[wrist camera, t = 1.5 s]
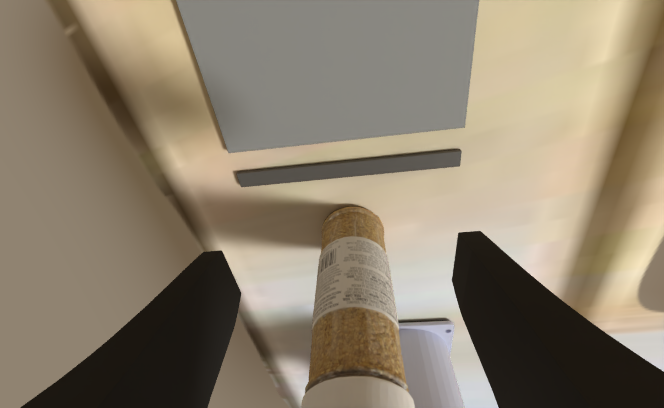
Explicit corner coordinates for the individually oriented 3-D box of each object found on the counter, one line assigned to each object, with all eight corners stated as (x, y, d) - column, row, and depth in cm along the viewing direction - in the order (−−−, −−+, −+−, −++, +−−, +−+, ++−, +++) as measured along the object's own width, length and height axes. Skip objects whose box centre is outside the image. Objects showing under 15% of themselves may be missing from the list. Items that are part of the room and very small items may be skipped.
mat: (462, 125, 18) (464, 127, 17) (230, 150, 19) (228, 153, 19) (488, -119, 12) (492, -122, 12) (160, -57, 14) (156, -58, 13)
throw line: (458, 163, 19) (459, 166, 19) (242, 184, 20) (241, 187, 20) (459, 149, 18) (461, 151, 18) (237, 171, 20) (236, 173, 20)
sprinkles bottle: (351, 261, 24) (355, 489, 13) (308, 228, 22) (270, 457, 11) (397, 229, 22) (450, 465, 11) (354, 191, 20) (363, 422, 9)
